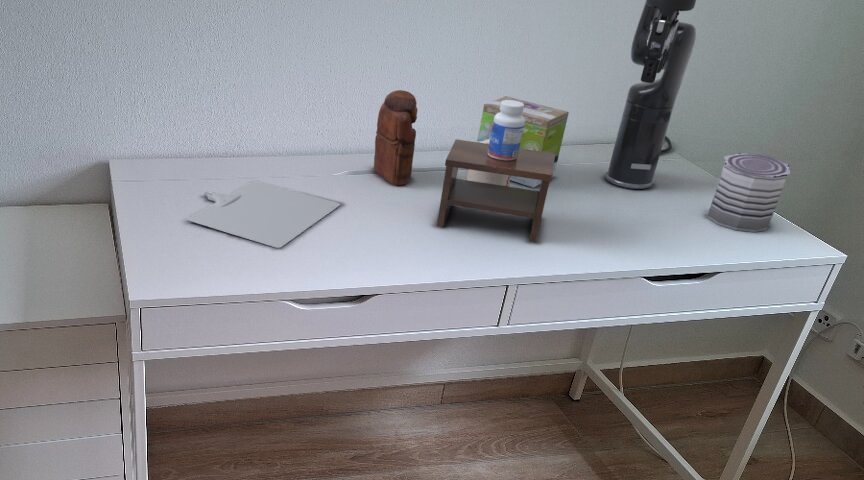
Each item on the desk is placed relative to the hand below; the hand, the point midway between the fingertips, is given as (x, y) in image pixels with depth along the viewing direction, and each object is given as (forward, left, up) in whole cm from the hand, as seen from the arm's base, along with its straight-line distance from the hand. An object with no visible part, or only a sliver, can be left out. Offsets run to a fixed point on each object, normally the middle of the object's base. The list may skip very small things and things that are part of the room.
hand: (650, 77), depth 150 cm
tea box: (-22, -20, -28) cm, 41 cm away
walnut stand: (+8, -22, -28) cm, 37 cm away
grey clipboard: (+21, -64, -28) cm, 73 cm away
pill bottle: (+8, -22, -15) cm, 28 cm away
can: (-14, +24, -28) cm, 40 cm away
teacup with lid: (-10, -25, -28) cm, 39 cm away
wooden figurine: (-9, -44, -28) cm, 53 cm away
